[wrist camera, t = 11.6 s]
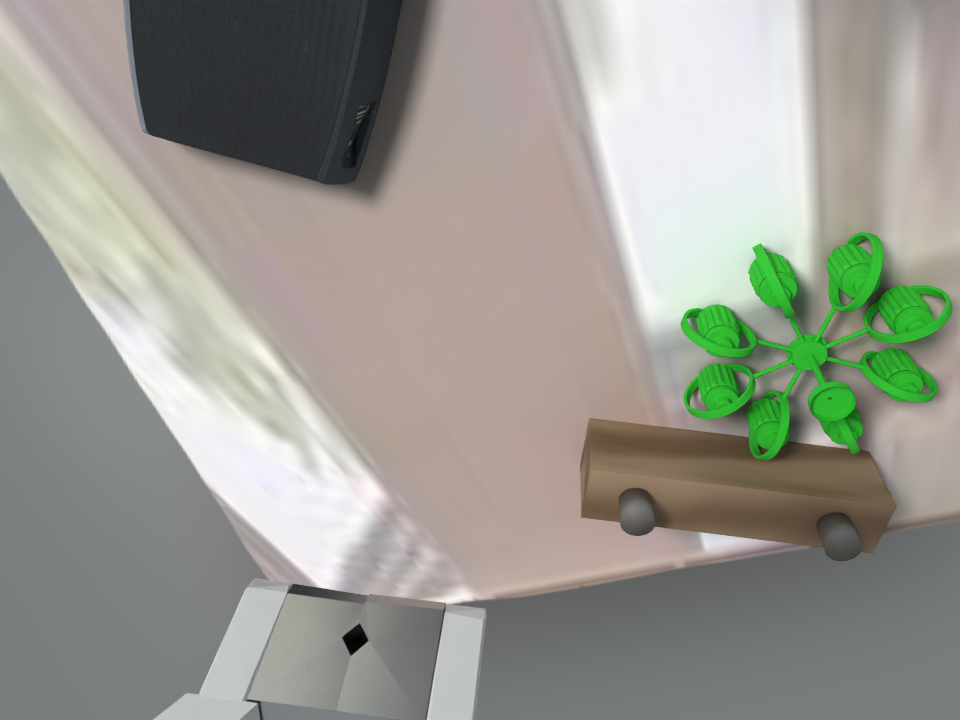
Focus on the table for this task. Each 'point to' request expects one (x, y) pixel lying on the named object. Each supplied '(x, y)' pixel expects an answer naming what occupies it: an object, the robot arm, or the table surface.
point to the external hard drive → (263, 78)
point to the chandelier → (815, 347)
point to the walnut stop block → (733, 488)
